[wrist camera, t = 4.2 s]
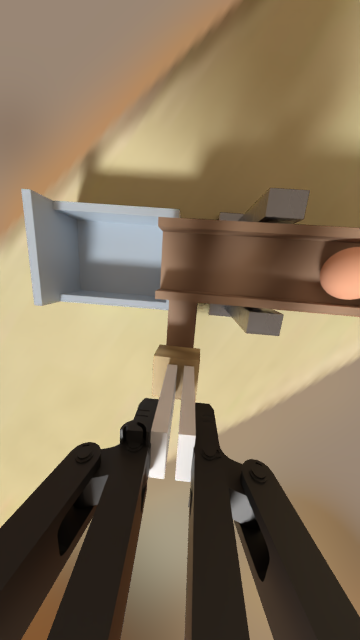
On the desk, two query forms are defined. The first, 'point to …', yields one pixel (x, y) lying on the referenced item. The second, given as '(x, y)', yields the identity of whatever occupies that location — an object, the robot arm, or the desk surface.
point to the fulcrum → (268, 209)
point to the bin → (94, 252)
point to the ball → (342, 274)
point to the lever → (240, 277)
